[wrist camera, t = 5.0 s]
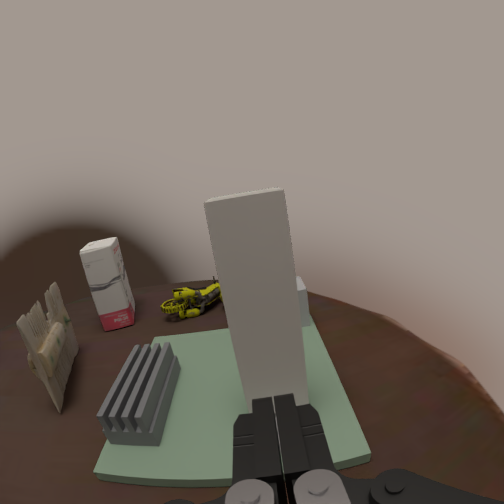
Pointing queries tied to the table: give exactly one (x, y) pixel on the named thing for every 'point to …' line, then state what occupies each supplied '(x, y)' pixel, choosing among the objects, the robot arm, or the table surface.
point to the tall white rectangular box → (259, 291)
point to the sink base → (206, 410)
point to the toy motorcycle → (192, 300)
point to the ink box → (108, 283)
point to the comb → (50, 344)
